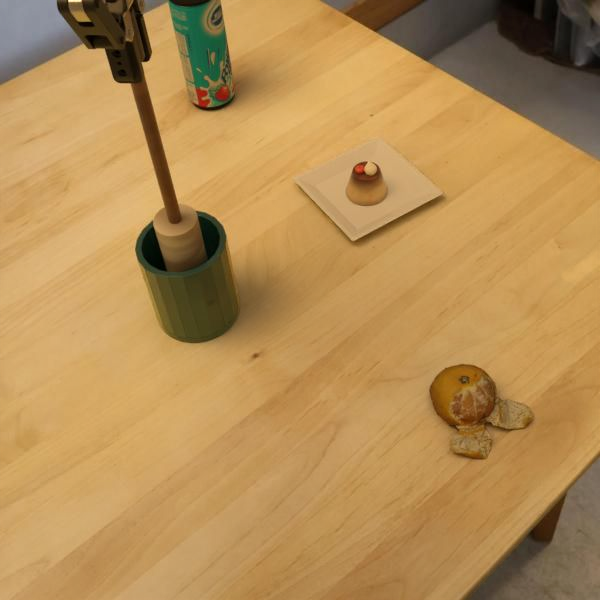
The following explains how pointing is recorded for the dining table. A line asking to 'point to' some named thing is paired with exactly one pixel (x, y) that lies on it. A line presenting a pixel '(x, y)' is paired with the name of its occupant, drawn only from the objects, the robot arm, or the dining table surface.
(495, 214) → the dining table surface
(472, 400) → the fruit
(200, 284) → the cup
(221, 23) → the beverage can
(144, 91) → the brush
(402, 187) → the dessert
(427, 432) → the dining table surface
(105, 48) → the robot arm
